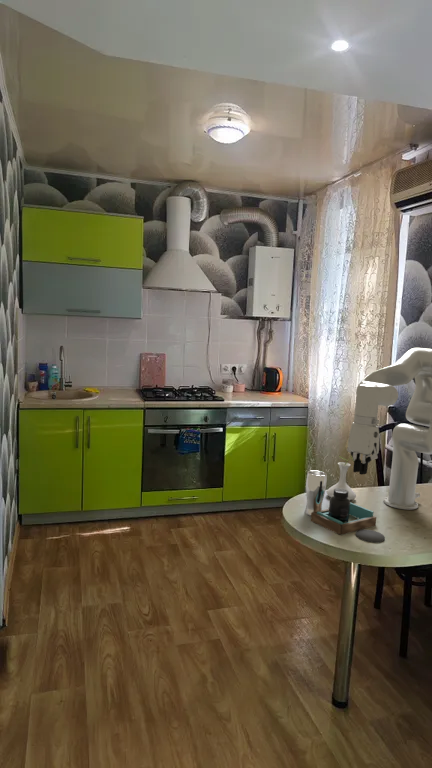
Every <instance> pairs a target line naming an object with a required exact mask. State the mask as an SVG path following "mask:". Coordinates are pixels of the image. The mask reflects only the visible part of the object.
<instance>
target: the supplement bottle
mask: <svg viewBox="0 0 432 768" xmlns="http://www.w3.org/2000/svg"><path fill="white" fill-rule="evenodd" d="M333 495H334V496H333V497H330V499H329V502H328V503H329V504H328V509H329V513H328V516H330V517H332V518H335V519H337V520H339V521H341V522H343V523H346V522H350V521H349V520H350V515H349V512H350V502H351V500H349V499H348V491H347V490H345V489H339V488H338V489H334V493H333Z"/></svg>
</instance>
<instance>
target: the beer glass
mask: <svg viewBox="0 0 432 768" xmlns="http://www.w3.org/2000/svg"><path fill="white" fill-rule="evenodd" d="M305 480H306V482H305V494H306V506H305V510H304V514H305V515H306V516H309V517H311V513H312V512H316V511H321V510H323V506H322V505H323V500H324V497H325V495H326V491H327V490H326V489H327V473H326V472H324V471H321V470H315V469H313V470H308V471H307V474H306V479H305Z"/></svg>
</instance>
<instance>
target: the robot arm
mask: <svg viewBox="0 0 432 768" xmlns="http://www.w3.org/2000/svg"><path fill="white" fill-rule="evenodd" d="M413 380H414V382H415V386H414V391H413V394H412V396H411V398H410V401H409V403H408V406H407V408H406V411H405V419H406V420H407V421H409V422H410V423H400V424H397V425H395V427H394V428H393V430H392V432H391V433H392V434H391V436H392V437H391V439H392V459H391V460H392V461H391V467H390V468H391V469H390V470H391V471H390V477H389V489H388V496H385V497H384V498H383V503H384V504H385V505H387V506H388V507H391V508H394V509H397V510H398V509H400V510H405V511H406V510H408V511H409V510H410V511H411V510H416V509H418V508H419V504H418V502H417V501H415V500H416V499H417V498H420V497H421V494H420V492H416V489H417V488H416V487H417V479H418V471H419V470H418V469H419V458H418V455H417V453H422V454H426V455H432V348H425V347H413V348H410V349H409V350H407V351H406V352H405V353H404V354H403V355H402V356H401V357H400V358H399V359H398V360H397V361H396V362H395V363H394V364H391V365H389V366H385V367H383V368H380V369H376V370H374V371H372V372H370V373H369V374H367V375H366V376H365V377H364V378H363V379H362V380H360V382H359V383H358V385H357V387H356V391H355V396H356V397H355V407H354V416H353V422H352V423H351V426H350V429H349V435H348V439H347V440H348V448H347V449H346V452H347V453H348V452H349V453H350V454H351V455H352V456H351V455H350V454H349V455H350V456H351V457H353V460H354V462H353V469H352V472H353V473H359V475H367V473H368V467H369V463H370V462H371V461H373V460H377V459H378V458H379V457H378V454H379V451H380V429H379V426H378V424H380V420H378V414H379V406H384V407H391V406H393V405H394V404H395V403H396V402H397V401H398V399H399V392H398V389H397V388H396V387H399V386H404V385H408V384H409V383H411V382H412V381H413ZM411 423H413V424H411ZM424 426H425V427H424ZM416 452H417V453H416ZM361 454H362V455H361ZM361 456H362V457H361ZM360 459H361V460H360ZM353 460H352V461H353Z"/></svg>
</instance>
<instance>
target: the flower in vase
mask: <svg viewBox="0 0 432 768" xmlns="http://www.w3.org/2000/svg"><path fill="white" fill-rule="evenodd" d="M347 448H348V439H347V440H346V442H345V449H346V450H347ZM347 454H348V455H350V456H349V458H348V459H347V458H345V457H342V456H341V455H340V454H339V455H338V457H339V458H340V459H342V460H343V461H345V462H343V461H342V462H337V465H338V468H339V480H338V482H336V484H334V485H332V486H330V487H329V488H328V489H327V490H326V494H327V496H329V497H330V498H331V497H333V496H334V495H333V493H334V489H338V488H339V489H345V490H347V491H348V499H349V500H350V501H352V500H354V499H355V498H356V497H357V493H355V491H354V490H353V488H352V487H351V486H349V484H348V483H347V480H346V479H347V472H348V470H349V468H350V467H351V464H350V463H349V462H348V461H350V459H351V461H352V462H353V463H354V460H353V457H352V455H351V454H350V453H349V452H348V451H347ZM361 456H363V454H361ZM360 460H361V461H362V458H360Z"/></svg>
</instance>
